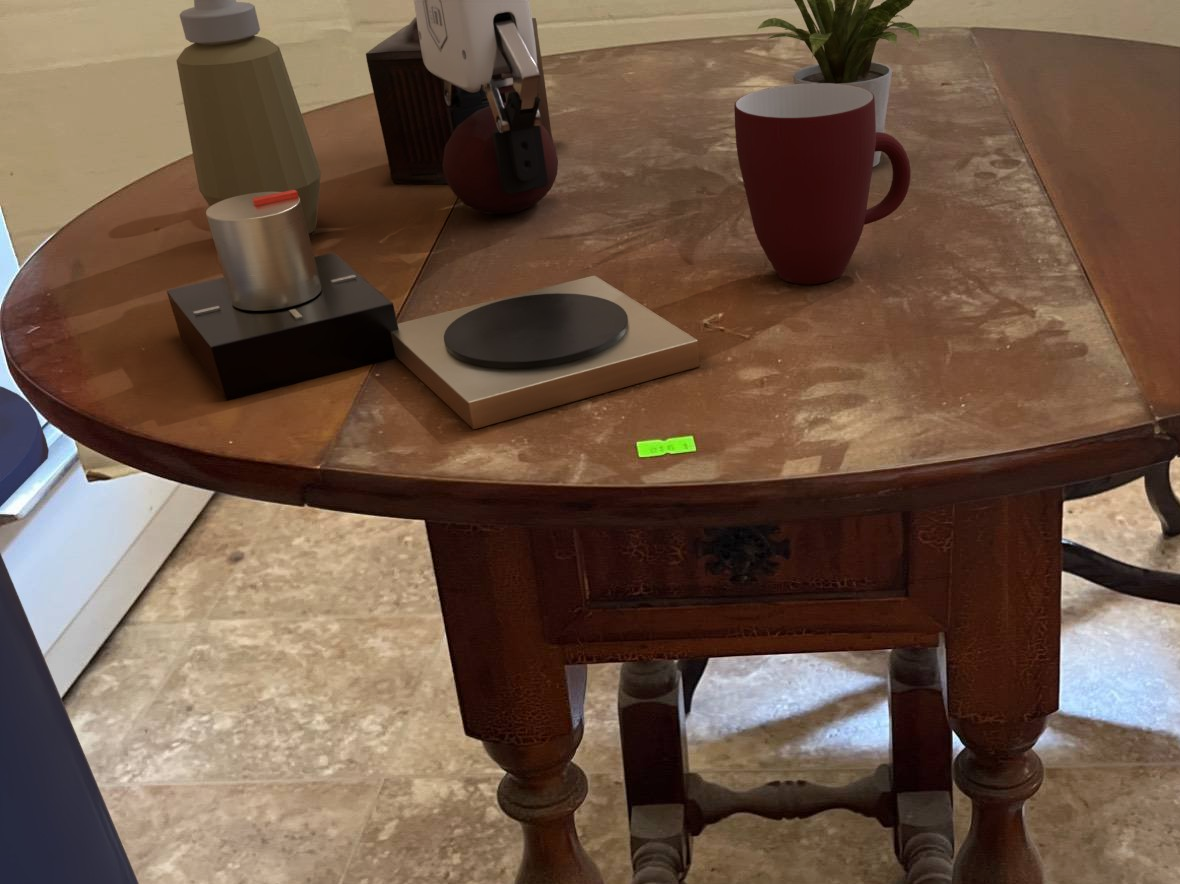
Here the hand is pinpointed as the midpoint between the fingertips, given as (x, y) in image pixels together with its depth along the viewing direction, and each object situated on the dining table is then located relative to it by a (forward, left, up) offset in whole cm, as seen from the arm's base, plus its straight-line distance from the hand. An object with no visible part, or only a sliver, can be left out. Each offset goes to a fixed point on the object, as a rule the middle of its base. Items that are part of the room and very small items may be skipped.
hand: (502, 174), depth 102 cm
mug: (+11, -25, -3) cm, 27 cm away
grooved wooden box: (+1, +15, -3) cm, 15 cm away
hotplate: (-9, -27, -2) cm, 29 cm away
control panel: (-20, -16, -2) cm, 26 cm away
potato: (0, 0, -3) cm, 3 cm away
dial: (-20, -16, +1) cm, 26 cm away
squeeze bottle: (-15, +6, -3) cm, 16 cm away
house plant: (+23, -6, -3) cm, 24 cm away
